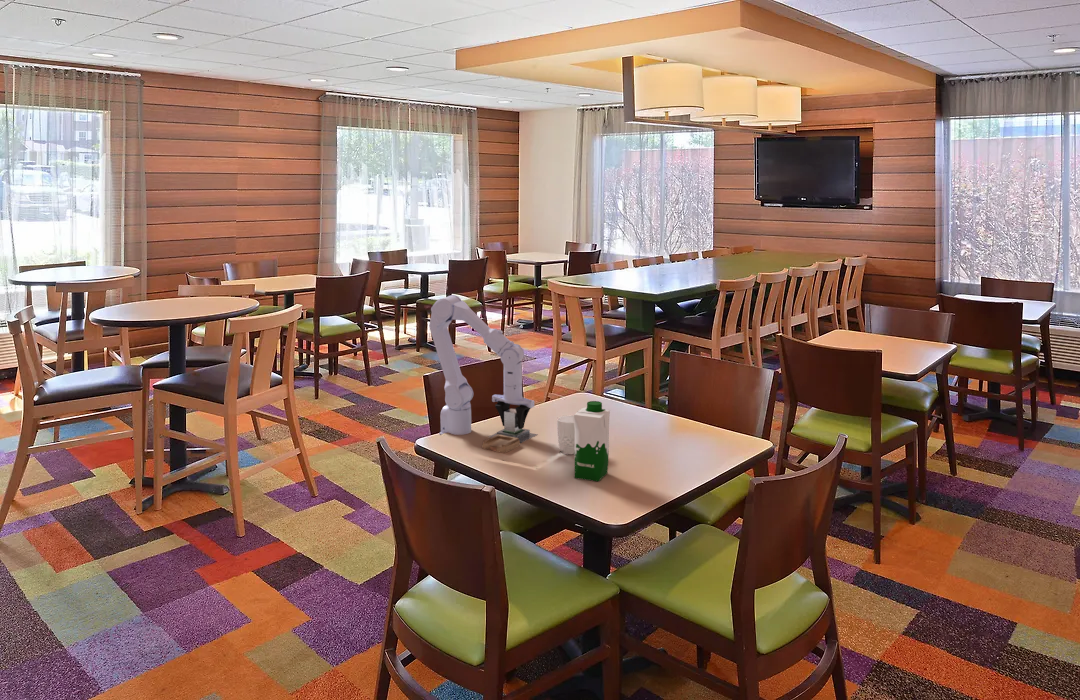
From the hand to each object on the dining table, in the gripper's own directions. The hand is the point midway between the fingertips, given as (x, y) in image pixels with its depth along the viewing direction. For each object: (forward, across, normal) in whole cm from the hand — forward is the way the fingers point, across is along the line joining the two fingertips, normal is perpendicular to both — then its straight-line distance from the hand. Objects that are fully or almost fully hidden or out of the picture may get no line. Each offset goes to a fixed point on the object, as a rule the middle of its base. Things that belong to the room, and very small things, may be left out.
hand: (513, 426), depth 245 cm
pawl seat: (+4, -3, +11) cm, 12 cm away
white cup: (+4, -21, +1) cm, 21 cm away
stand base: (+4, 0, 0) cm, 4 cm away
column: (+3, 0, 0) cm, 3 cm away
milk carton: (+4, -36, +16) cm, 40 cm away
